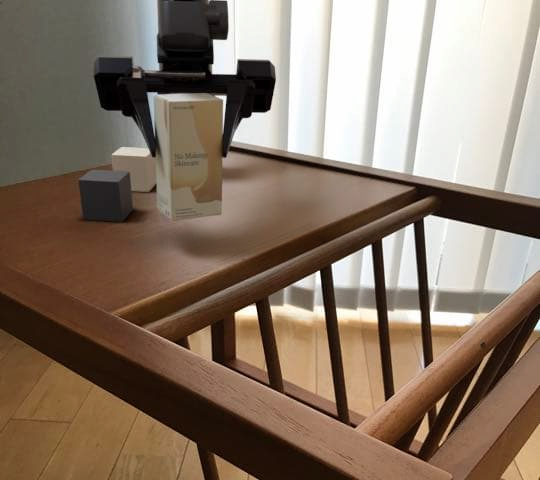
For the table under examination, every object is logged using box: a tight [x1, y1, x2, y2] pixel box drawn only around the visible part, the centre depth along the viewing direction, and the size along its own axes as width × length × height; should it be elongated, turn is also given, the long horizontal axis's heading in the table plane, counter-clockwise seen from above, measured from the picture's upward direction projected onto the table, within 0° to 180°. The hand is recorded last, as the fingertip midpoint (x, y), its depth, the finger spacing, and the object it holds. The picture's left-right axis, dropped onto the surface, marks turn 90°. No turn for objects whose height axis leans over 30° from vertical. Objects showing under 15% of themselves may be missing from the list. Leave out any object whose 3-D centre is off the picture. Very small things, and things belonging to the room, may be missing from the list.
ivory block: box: [110, 146, 157, 193], centre depth 91 cm, size 5×5×5 cm
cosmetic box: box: [152, 93, 224, 222], centre depth 67 cm, size 6×4×12 cm
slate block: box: [78, 169, 134, 223], centre depth 79 cm, size 5×5×5 cm
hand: (189, 155), depth 65 cm, fingers closed on cosmetic box, 7 cm apart
